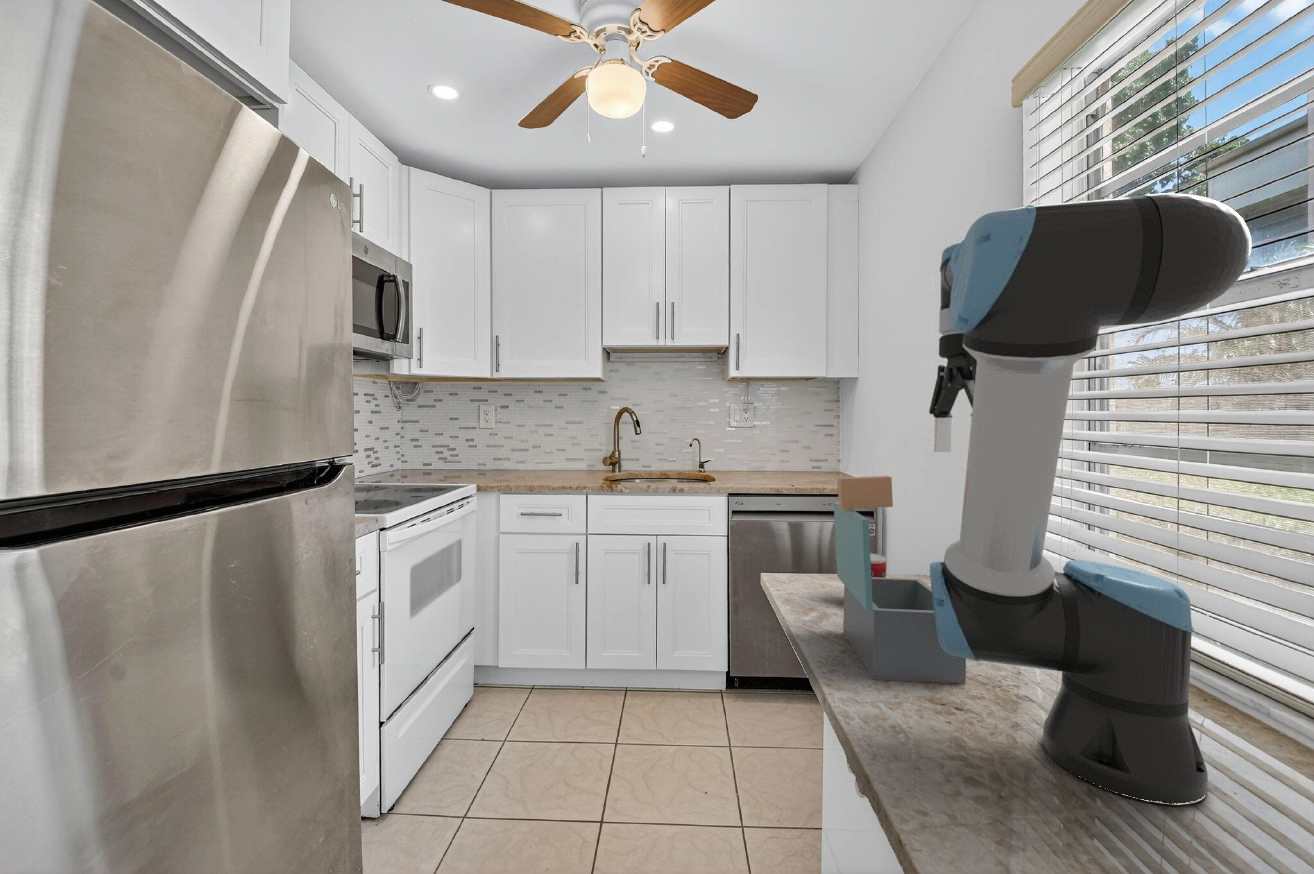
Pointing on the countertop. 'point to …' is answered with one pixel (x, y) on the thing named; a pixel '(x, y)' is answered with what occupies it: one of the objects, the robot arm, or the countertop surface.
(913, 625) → the tub
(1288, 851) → the countertop surface
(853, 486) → the lid
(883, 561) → the canned food
